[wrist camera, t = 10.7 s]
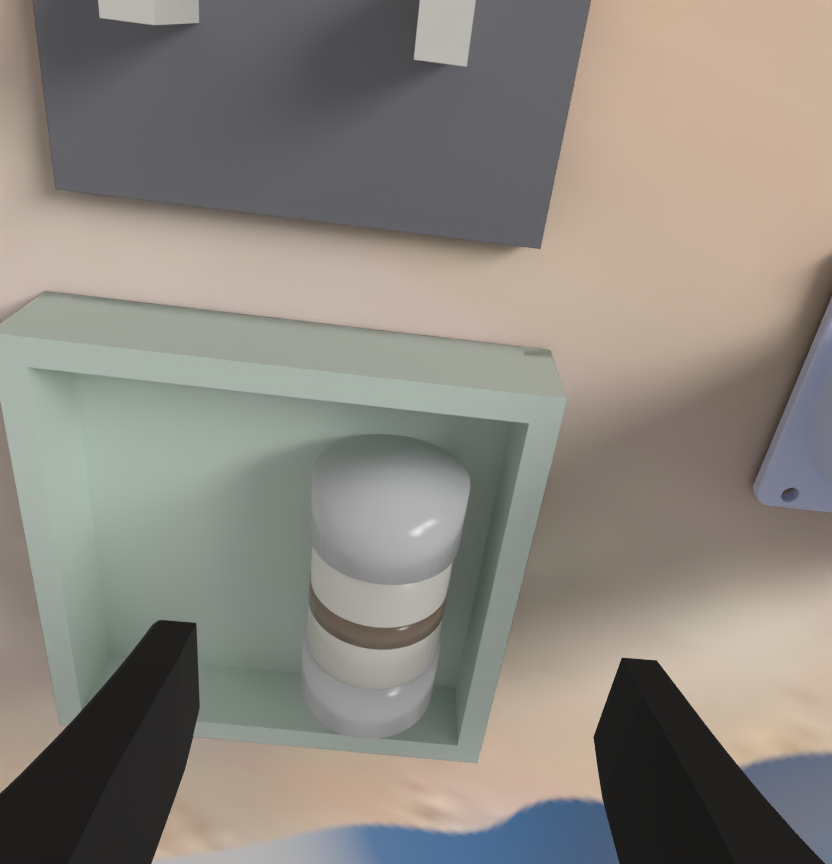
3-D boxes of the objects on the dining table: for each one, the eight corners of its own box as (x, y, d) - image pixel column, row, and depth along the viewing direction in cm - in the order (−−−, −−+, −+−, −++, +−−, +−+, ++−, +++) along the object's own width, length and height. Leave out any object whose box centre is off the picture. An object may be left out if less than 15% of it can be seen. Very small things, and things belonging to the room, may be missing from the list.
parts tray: (550, 350, 21) (567, 399, 18) (473, 692, 28) (477, 763, 25) (45, 291, 20) (-13, 332, 18) (95, 655, 27) (59, 724, 24)
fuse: (337, 423, 22) (478, 450, 21) (322, 622, 26) (441, 648, 25) (291, 502, 18) (460, 536, 18) (282, 720, 22) (420, 752, 22)
